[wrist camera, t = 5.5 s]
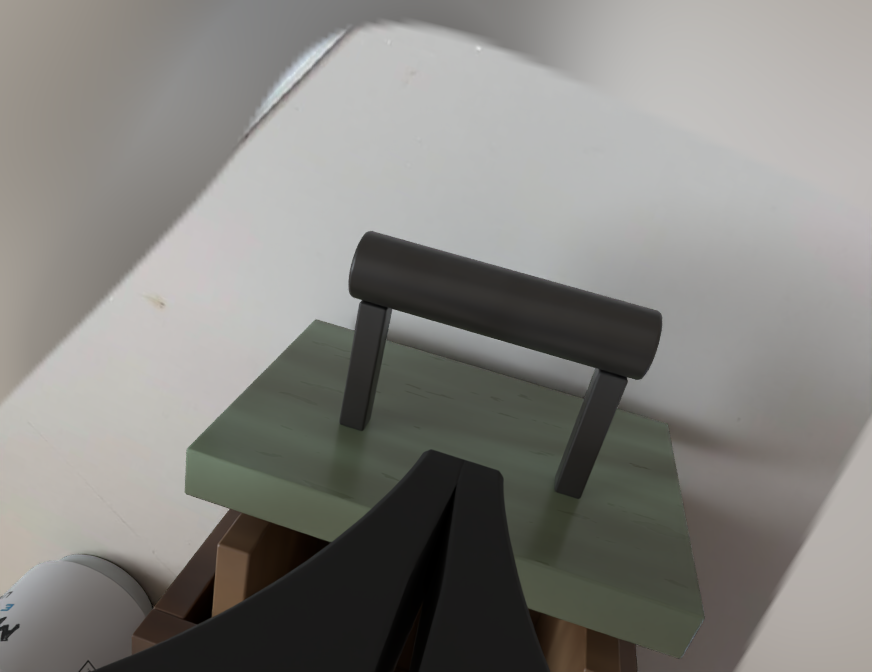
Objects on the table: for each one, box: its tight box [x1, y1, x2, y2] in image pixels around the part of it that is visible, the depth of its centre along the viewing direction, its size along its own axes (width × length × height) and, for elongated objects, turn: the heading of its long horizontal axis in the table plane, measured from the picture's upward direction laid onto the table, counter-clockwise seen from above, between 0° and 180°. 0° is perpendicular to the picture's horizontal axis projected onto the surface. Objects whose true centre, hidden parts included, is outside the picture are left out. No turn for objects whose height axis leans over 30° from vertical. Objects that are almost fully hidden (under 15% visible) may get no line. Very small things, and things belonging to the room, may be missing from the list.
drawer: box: [185, 231, 705, 672], centre depth 17 cm, size 17×10×7 cm, turn 168°
